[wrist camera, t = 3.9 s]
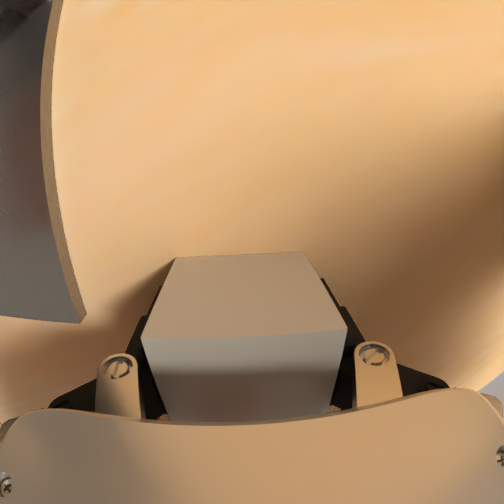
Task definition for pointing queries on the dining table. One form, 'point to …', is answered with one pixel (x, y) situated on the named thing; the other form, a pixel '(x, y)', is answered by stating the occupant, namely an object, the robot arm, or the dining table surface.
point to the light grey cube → (244, 339)
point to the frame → (31, 171)
